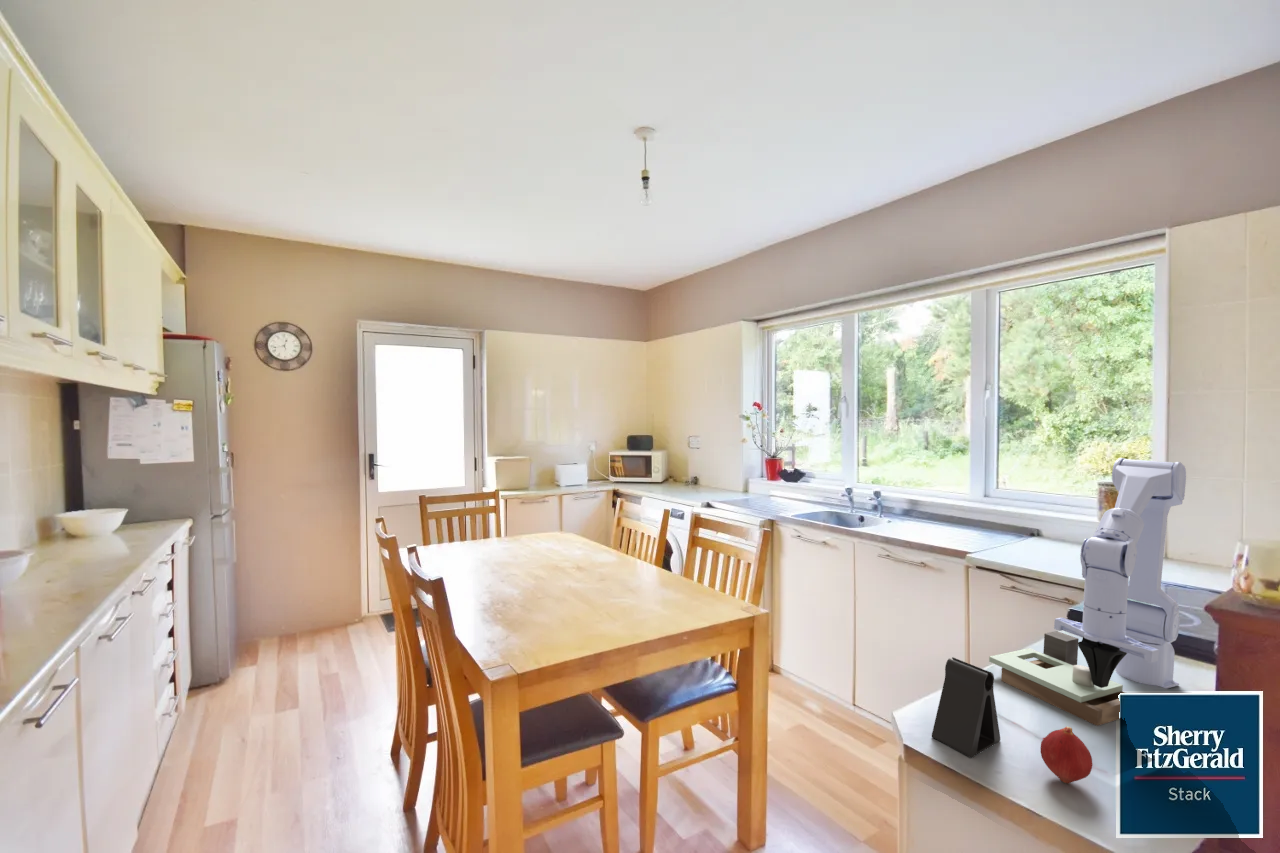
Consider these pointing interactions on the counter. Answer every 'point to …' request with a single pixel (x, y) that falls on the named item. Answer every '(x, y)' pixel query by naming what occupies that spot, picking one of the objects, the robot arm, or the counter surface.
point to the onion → (1066, 755)
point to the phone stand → (967, 709)
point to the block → (1061, 647)
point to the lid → (1055, 675)
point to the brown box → (1067, 698)
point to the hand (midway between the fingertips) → (1100, 685)
